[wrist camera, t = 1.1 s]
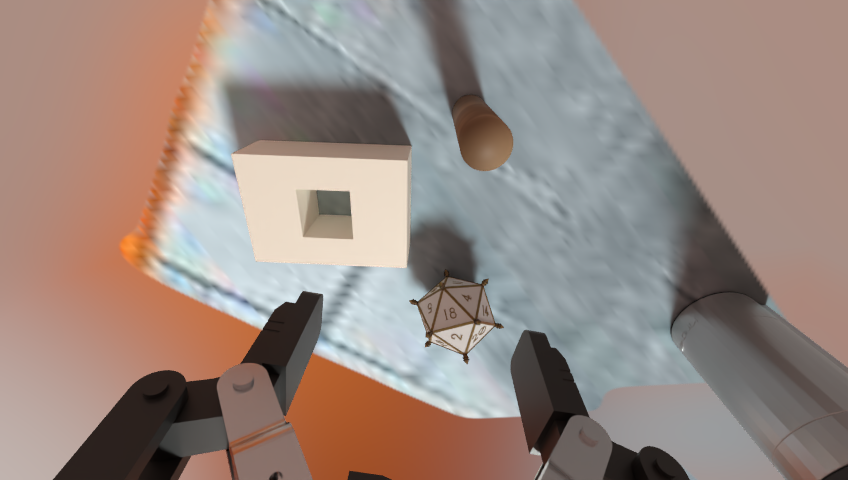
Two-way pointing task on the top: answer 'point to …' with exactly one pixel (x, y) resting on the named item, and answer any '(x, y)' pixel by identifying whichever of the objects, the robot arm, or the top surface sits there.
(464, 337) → the game die
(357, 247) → the hole block
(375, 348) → the top surface
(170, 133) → the top surface
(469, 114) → the peg
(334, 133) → the top surface
